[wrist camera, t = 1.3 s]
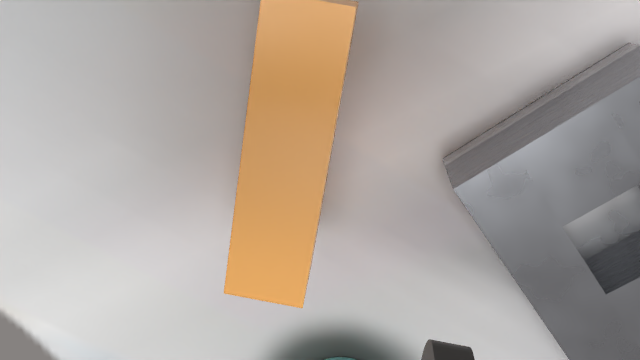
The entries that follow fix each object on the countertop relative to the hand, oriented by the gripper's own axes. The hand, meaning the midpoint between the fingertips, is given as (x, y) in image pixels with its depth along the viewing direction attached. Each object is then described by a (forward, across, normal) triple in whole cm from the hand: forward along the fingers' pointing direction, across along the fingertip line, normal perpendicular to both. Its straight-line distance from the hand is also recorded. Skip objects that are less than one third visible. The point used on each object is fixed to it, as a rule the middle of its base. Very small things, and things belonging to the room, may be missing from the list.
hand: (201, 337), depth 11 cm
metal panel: (+18, -16, +4) cm, 24 cm away
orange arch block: (+18, 0, 0) cm, 18 cm away
